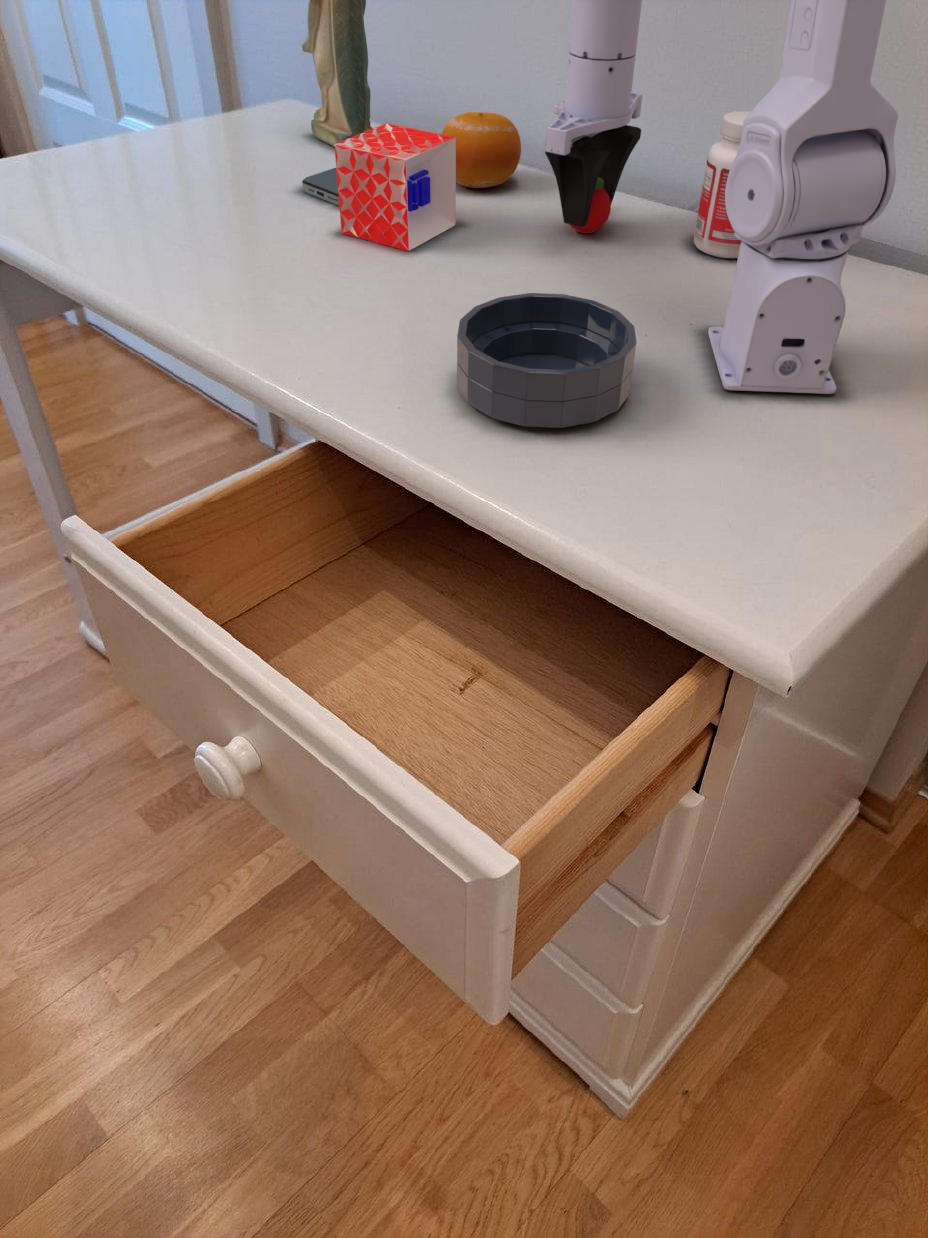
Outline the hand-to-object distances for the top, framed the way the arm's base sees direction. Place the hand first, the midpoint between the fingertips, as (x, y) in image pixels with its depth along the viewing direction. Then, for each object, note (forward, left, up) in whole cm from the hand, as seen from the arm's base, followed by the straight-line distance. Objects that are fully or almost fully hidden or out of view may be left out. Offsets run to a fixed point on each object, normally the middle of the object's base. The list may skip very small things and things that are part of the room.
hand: (586, 216), depth 88 cm
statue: (+27, +28, -2) cm, 39 cm away
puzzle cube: (-1, +18, -2) cm, 18 cm away
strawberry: (0, 0, -1) cm, 1 cm away
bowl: (-31, +4, -1) cm, 31 cm away
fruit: (+13, +11, -2) cm, 17 cm away
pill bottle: (-3, -13, -2) cm, 13 cm away
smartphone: (+12, +22, -2) cm, 25 cm away
